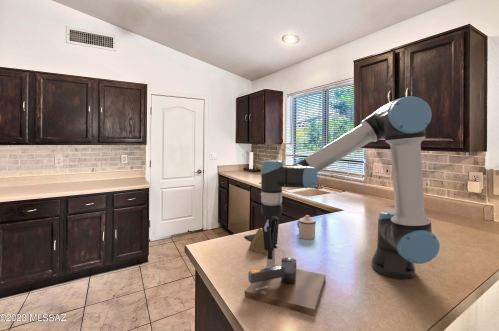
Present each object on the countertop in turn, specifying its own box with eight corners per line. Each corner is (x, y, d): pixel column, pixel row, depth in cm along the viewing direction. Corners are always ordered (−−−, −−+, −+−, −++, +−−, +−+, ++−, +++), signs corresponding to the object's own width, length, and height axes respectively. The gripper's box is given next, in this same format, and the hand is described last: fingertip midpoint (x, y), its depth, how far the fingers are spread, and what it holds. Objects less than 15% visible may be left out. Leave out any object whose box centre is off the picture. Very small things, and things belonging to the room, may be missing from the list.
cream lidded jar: (319, 237, 139) (319, 216, 138) (306, 240, 134) (307, 218, 133) (303, 231, 149) (303, 211, 148) (291, 234, 144) (291, 213, 143)
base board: (325, 280, 94) (325, 274, 94) (314, 316, 74) (314, 308, 74) (268, 268, 103) (268, 263, 103) (244, 297, 83) (244, 290, 83)
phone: (274, 235, 140) (250, 240, 132) (274, 237, 140) (250, 242, 132) (266, 231, 146) (243, 236, 139) (266, 233, 146) (243, 237, 139)
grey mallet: (291, 275, 93) (291, 254, 92) (298, 282, 88) (299, 260, 88) (246, 284, 86) (246, 262, 86) (252, 292, 82) (252, 268, 81)
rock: (278, 249, 117) (269, 238, 126) (269, 236, 114) (260, 226, 123) (259, 265, 115) (252, 253, 124) (249, 252, 112) (242, 241, 121)
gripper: (267, 198, 102) (267, 257, 103) (255, 205, 90) (254, 272, 91) (286, 200, 99) (285, 261, 100) (275, 207, 87) (275, 276, 88)
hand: (270, 266), depth 96 cm, fingers closed
